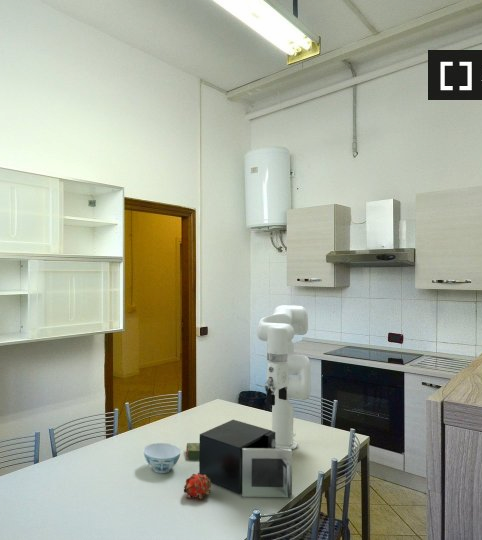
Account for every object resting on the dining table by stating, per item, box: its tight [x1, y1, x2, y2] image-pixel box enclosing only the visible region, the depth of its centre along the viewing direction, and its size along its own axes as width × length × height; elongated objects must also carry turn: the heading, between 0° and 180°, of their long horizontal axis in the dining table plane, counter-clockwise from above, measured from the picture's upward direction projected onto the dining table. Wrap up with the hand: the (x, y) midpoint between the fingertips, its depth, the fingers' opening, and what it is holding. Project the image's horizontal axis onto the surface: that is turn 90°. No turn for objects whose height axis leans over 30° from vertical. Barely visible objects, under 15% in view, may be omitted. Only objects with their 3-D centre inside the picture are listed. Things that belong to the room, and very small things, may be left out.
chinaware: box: [143, 442, 182, 474], centre depth 174 cm, size 15×15×8 cm
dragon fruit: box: [183, 472, 212, 500], centre depth 153 cm, size 8×8×12 cm
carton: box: [185, 442, 200, 461], centre depth 187 cm, size 8×16×4 cm, turn 89°
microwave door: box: [241, 448, 293, 499], centre depth 151 cm, size 7×18×17 cm, turn 90°
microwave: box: [198, 419, 276, 496], centre depth 168 cm, size 20×24×17 cm
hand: (276, 401), depth 166 cm, fingers open, 9 cm apart
